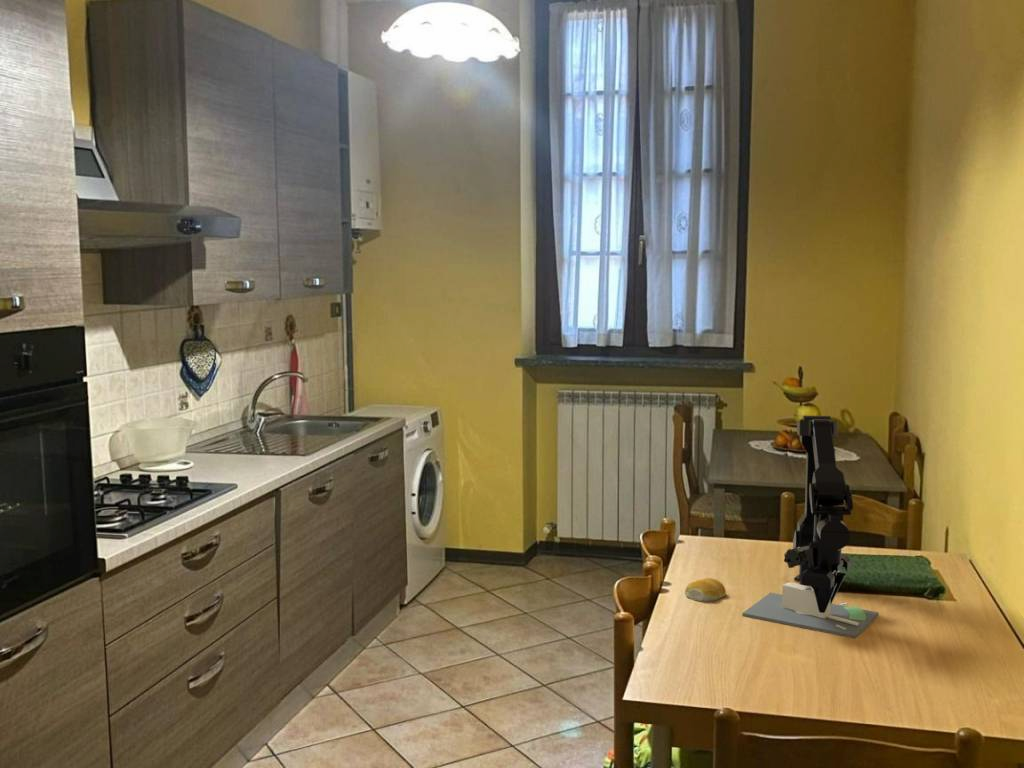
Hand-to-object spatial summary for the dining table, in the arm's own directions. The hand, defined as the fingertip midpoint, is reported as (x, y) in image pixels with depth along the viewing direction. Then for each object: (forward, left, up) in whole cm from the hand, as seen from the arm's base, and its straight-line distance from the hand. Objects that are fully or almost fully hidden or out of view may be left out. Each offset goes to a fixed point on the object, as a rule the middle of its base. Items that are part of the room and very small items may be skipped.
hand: (824, 609), depth 214 cm
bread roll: (0, -27, -2) cm, 27 cm away
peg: (0, -1, -1) cm, 1 cm away
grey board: (-2, -3, -2) cm, 4 cm away
